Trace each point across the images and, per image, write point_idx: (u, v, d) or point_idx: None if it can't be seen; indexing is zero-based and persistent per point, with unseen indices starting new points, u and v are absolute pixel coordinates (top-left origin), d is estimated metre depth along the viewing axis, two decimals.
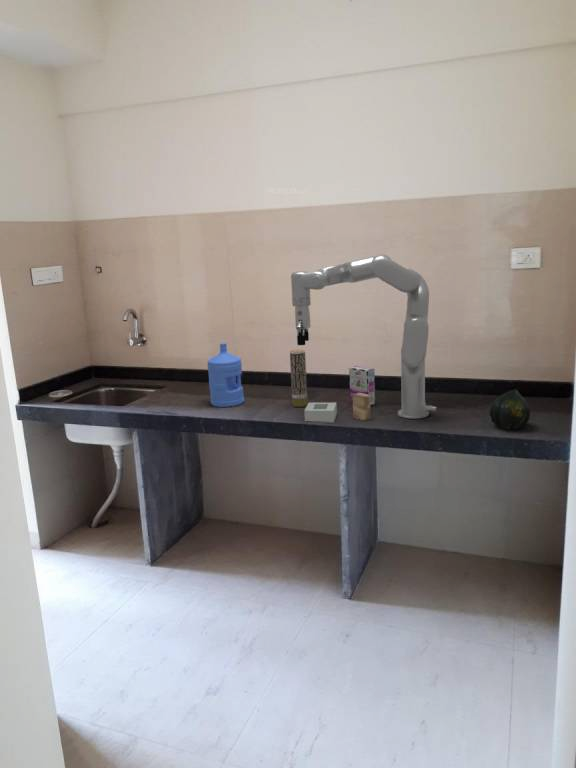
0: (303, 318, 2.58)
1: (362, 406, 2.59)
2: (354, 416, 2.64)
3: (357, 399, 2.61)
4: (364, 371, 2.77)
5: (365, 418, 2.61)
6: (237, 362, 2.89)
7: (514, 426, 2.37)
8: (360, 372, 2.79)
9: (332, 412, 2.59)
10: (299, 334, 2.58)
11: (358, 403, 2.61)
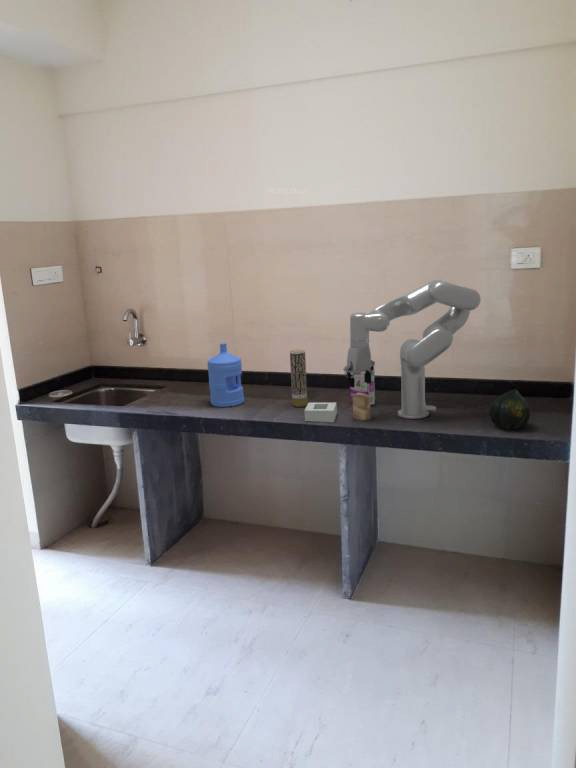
0: None
1: (362, 406, 2.59)
2: (354, 416, 2.64)
3: (357, 399, 2.61)
4: (364, 371, 2.77)
5: (365, 418, 2.61)
6: (237, 362, 2.89)
7: (514, 426, 2.37)
8: (360, 372, 2.79)
9: (332, 412, 2.59)
10: None
11: (358, 403, 2.61)
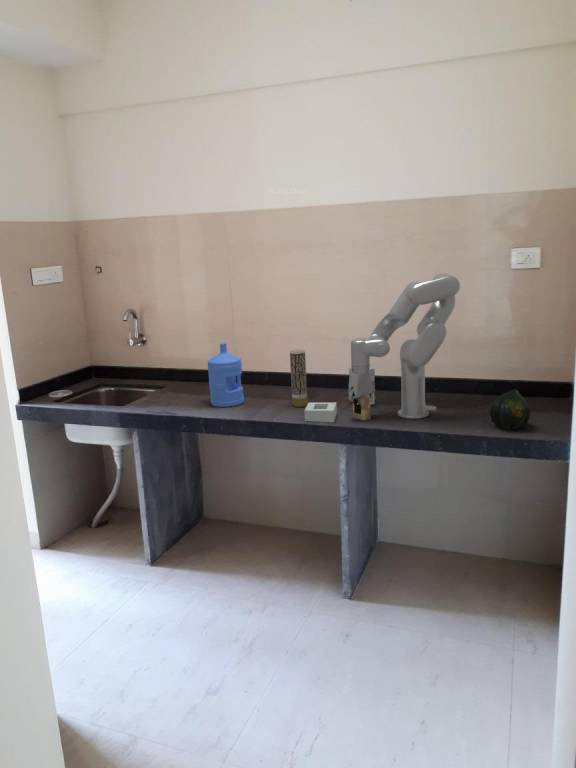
0: None
1: (362, 406, 2.59)
2: (354, 416, 2.64)
3: None
4: None
5: (365, 418, 2.61)
6: (237, 362, 2.89)
7: (514, 426, 2.37)
8: None
9: (332, 412, 2.59)
10: None
11: None
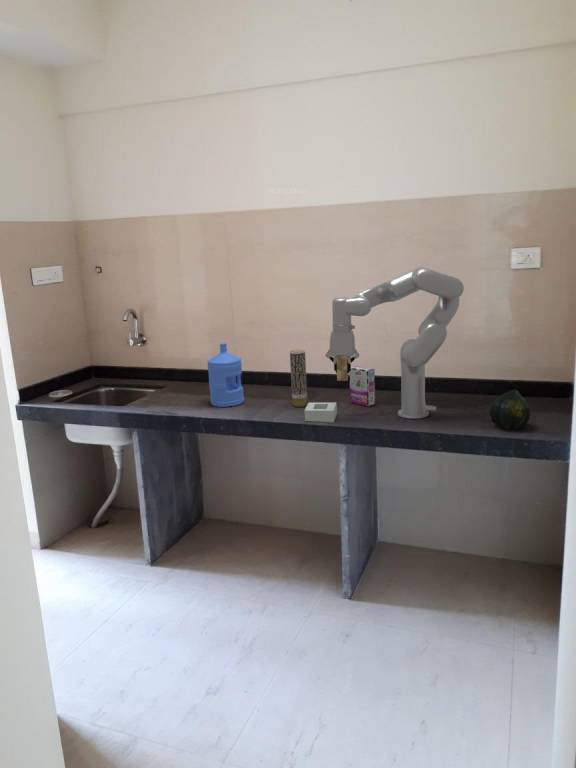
0: (354, 342, 2.58)
1: (337, 366, 2.58)
2: None
3: None
4: (364, 371, 2.77)
5: (339, 379, 2.58)
6: (237, 362, 2.89)
7: (514, 426, 2.37)
8: (360, 372, 2.79)
9: (332, 412, 2.59)
10: (352, 361, 2.58)
11: None
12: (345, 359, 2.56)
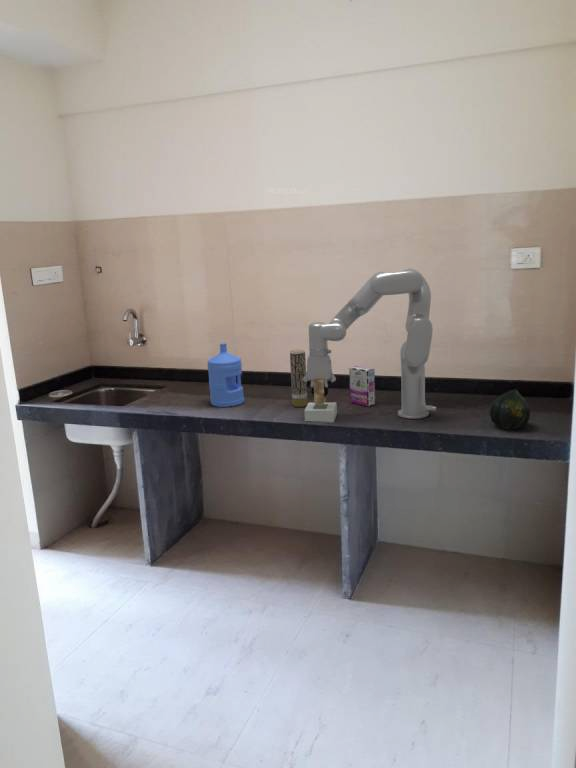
0: None
1: (314, 390, 2.62)
2: None
3: None
4: (364, 371, 2.77)
5: (316, 402, 2.62)
6: (237, 362, 2.89)
7: (514, 426, 2.37)
8: (360, 372, 2.79)
9: (332, 412, 2.59)
10: None
11: None
12: (322, 383, 2.60)
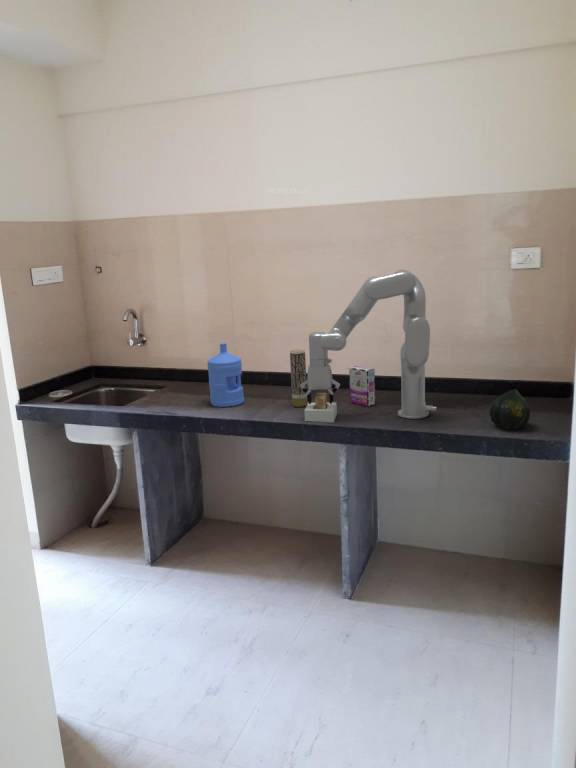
0: (331, 376, 2.63)
1: None
2: None
3: None
4: (364, 371, 2.77)
5: None
6: (237, 362, 2.89)
7: (514, 426, 2.37)
8: (360, 372, 2.79)
9: (332, 412, 2.59)
10: (334, 392, 2.63)
11: None
12: (323, 399, 2.62)
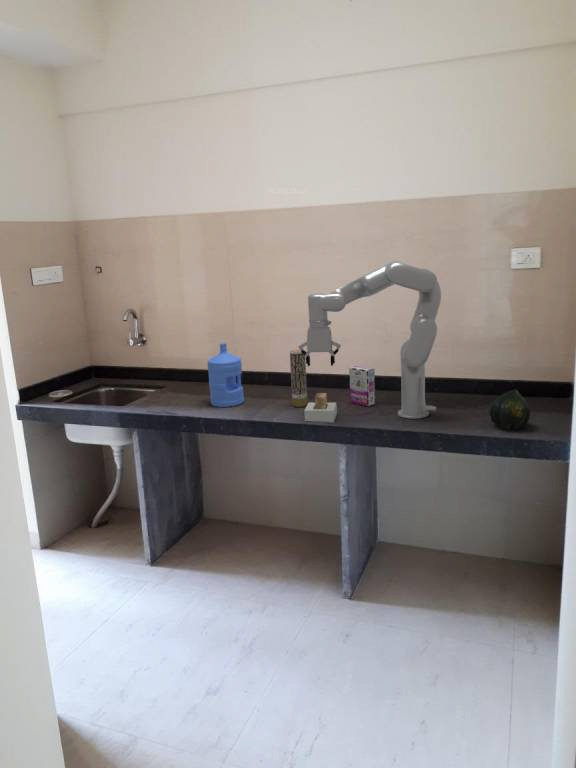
0: (331, 338, 2.60)
1: None
2: None
3: None
4: (364, 371, 2.77)
5: None
6: (237, 362, 2.89)
7: (514, 426, 2.37)
8: (360, 372, 2.79)
9: (332, 412, 2.59)
10: None
11: None
12: (323, 399, 2.62)
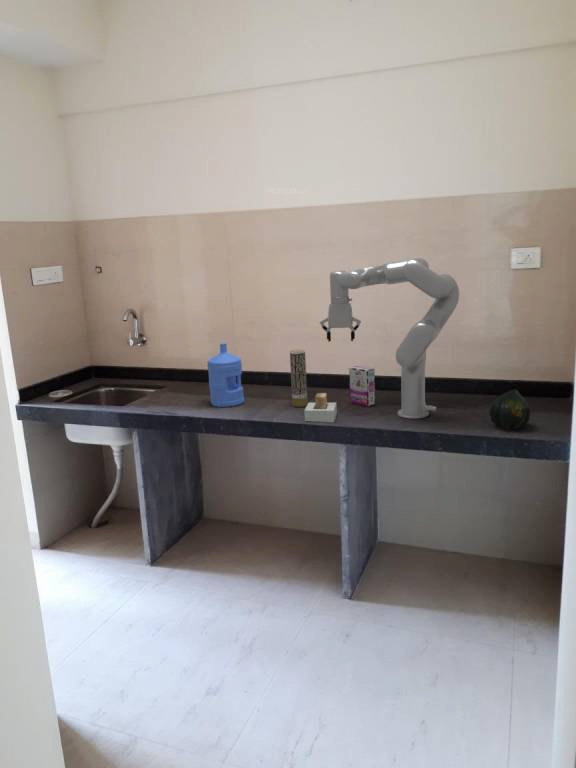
0: None
1: None
2: None
3: None
4: (364, 371, 2.77)
5: None
6: (237, 362, 2.89)
7: (514, 426, 2.37)
8: (360, 372, 2.79)
9: (332, 412, 2.59)
10: (355, 329, 2.68)
11: None
12: (323, 399, 2.62)
